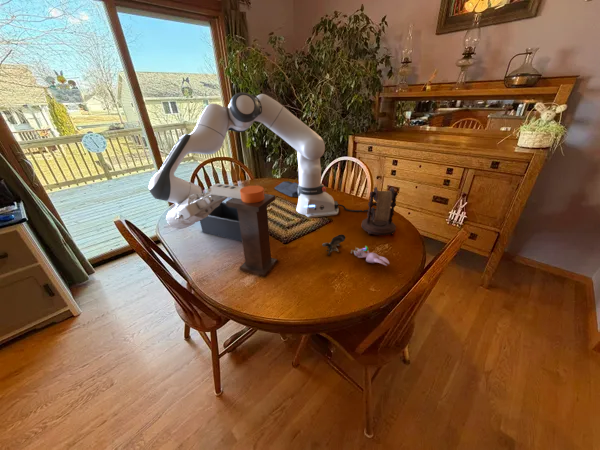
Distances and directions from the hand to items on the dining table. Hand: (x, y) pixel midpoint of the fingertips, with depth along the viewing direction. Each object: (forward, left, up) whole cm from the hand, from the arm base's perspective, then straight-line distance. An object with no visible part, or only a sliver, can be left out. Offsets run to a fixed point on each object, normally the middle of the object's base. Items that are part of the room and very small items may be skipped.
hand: (220, 193), depth 77 cm
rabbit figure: (-51, +3, -26) cm, 57 cm away
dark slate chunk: (-21, -72, -26) cm, 80 cm away
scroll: (-61, -20, -26) cm, 69 cm away
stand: (-11, +5, -26) cm, 28 cm away
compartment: (+5, -22, -26) cm, 35 cm away
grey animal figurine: (-39, -4, -26) cm, 47 cm away
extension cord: (-7, +3, 0) cm, 7 cm away
